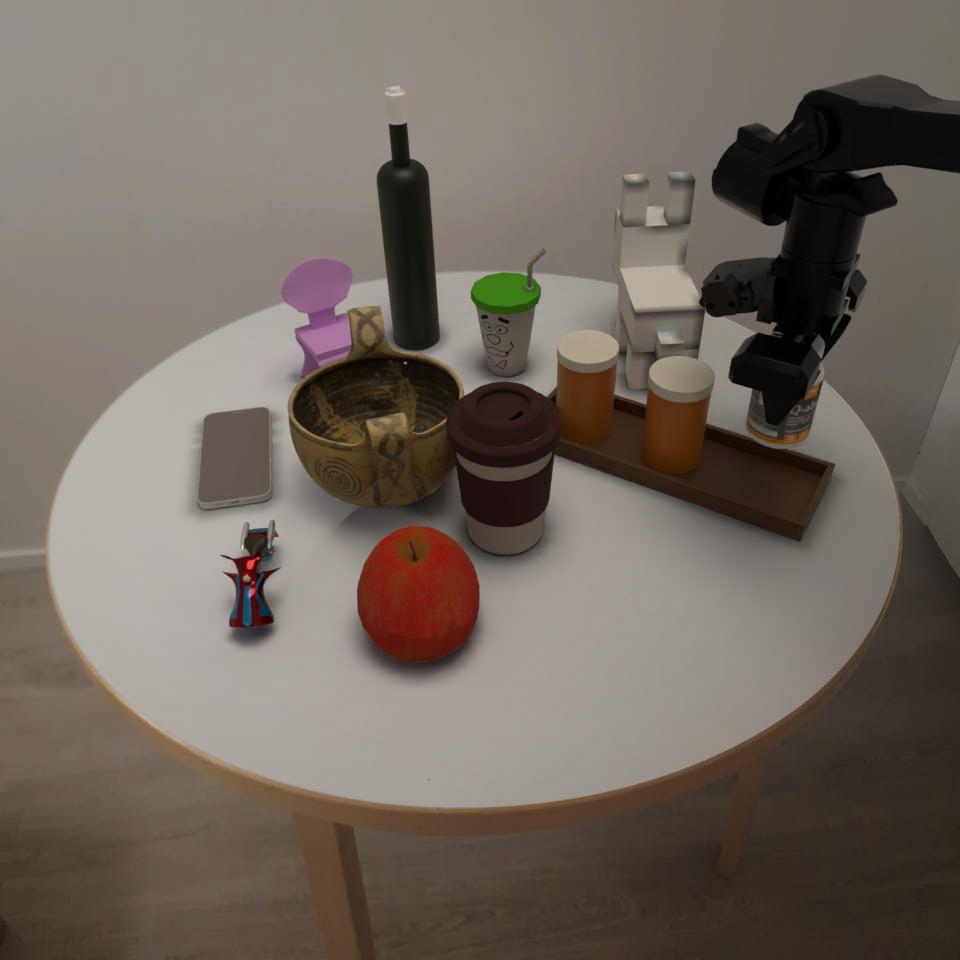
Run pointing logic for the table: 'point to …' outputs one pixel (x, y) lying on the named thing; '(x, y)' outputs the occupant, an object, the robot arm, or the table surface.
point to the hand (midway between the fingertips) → (783, 406)
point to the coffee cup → (504, 463)
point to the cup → (507, 318)
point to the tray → (715, 472)
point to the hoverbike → (252, 578)
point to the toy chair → (320, 309)
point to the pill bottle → (794, 424)
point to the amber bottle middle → (676, 413)
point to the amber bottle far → (586, 385)
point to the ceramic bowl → (375, 420)
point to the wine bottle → (407, 235)
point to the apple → (418, 595)
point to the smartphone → (235, 458)
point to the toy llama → (654, 276)
